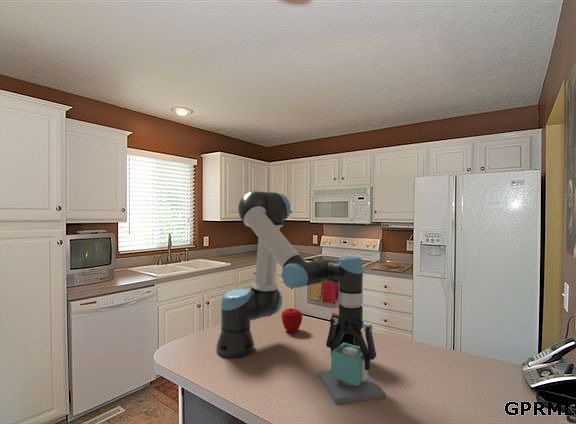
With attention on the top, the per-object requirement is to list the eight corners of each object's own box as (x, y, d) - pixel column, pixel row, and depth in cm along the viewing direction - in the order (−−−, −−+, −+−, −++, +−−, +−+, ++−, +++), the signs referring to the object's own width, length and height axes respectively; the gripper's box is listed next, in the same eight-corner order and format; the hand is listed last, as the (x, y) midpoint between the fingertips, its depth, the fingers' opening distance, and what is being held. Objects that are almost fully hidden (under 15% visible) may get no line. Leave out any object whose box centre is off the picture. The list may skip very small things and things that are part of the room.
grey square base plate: (318, 375, 106) (318, 342, 106) (361, 371, 109) (362, 338, 110) (335, 403, 91) (335, 364, 91) (385, 397, 94) (385, 359, 94)
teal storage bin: (331, 376, 99) (331, 351, 99) (343, 365, 106) (343, 342, 106) (357, 386, 94) (357, 359, 94) (368, 373, 101) (368, 349, 101)
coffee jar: (359, 366, 114) (359, 316, 114) (329, 362, 116) (330, 314, 116) (358, 353, 124) (358, 308, 124) (331, 350, 126) (332, 306, 126)
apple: (306, 330, 148) (306, 307, 148) (293, 336, 140) (293, 312, 140) (290, 325, 154) (290, 303, 154) (277, 330, 147) (277, 307, 147)
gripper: (387, 307, 97) (387, 380, 97) (326, 296, 110) (325, 360, 109) (379, 313, 91) (379, 391, 91) (315, 301, 103) (315, 369, 103)
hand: (350, 374), depth 100 cm, fingers closed on teal storage bin, 9 cm apart
